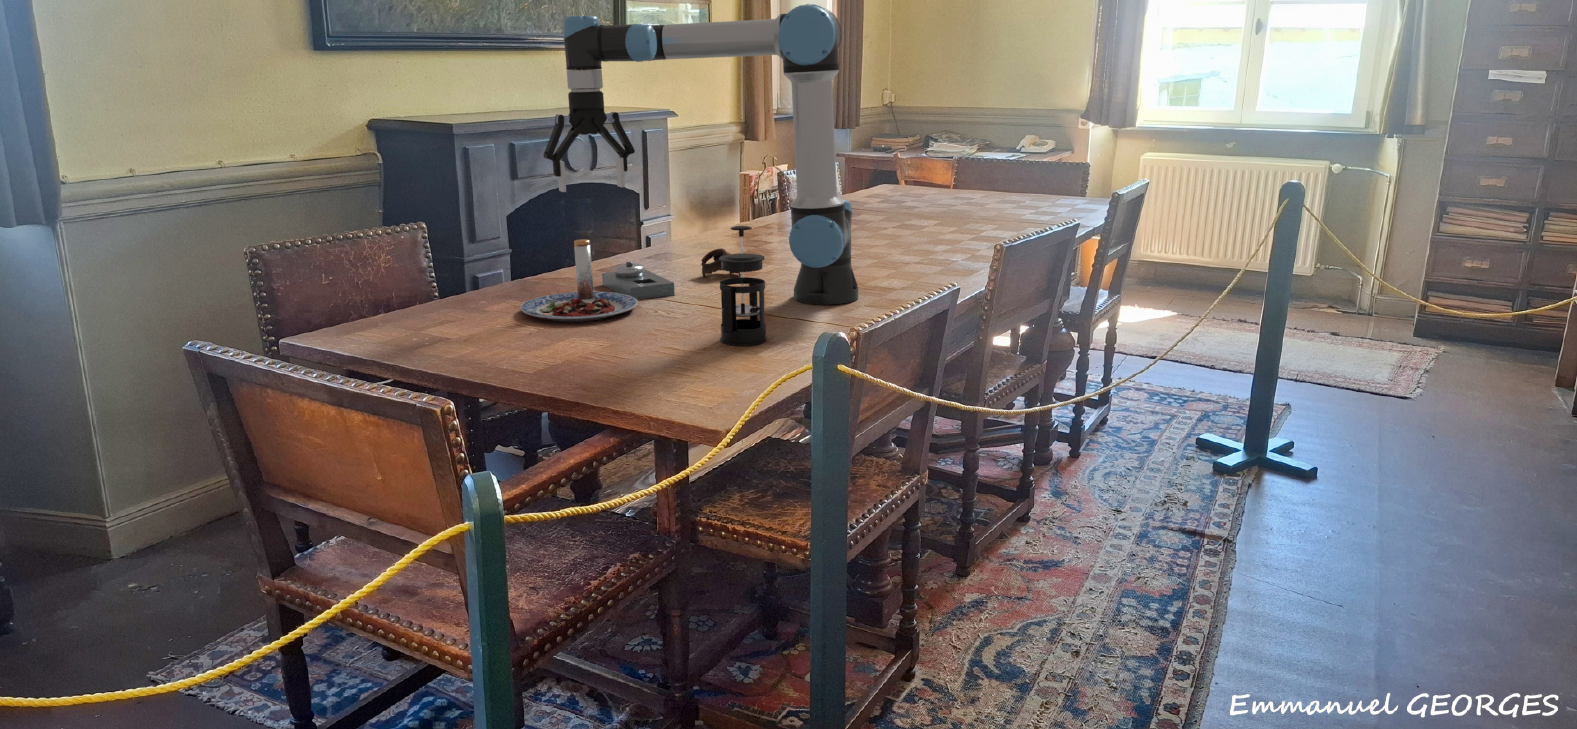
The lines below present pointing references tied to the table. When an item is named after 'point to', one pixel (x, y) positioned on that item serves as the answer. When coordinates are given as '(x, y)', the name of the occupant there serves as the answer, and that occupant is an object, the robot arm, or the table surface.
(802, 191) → the robot arm
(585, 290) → the pin
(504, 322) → the table surface
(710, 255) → the broken brown mug
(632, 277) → the block
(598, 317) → the ceramic plate
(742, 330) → the french press
